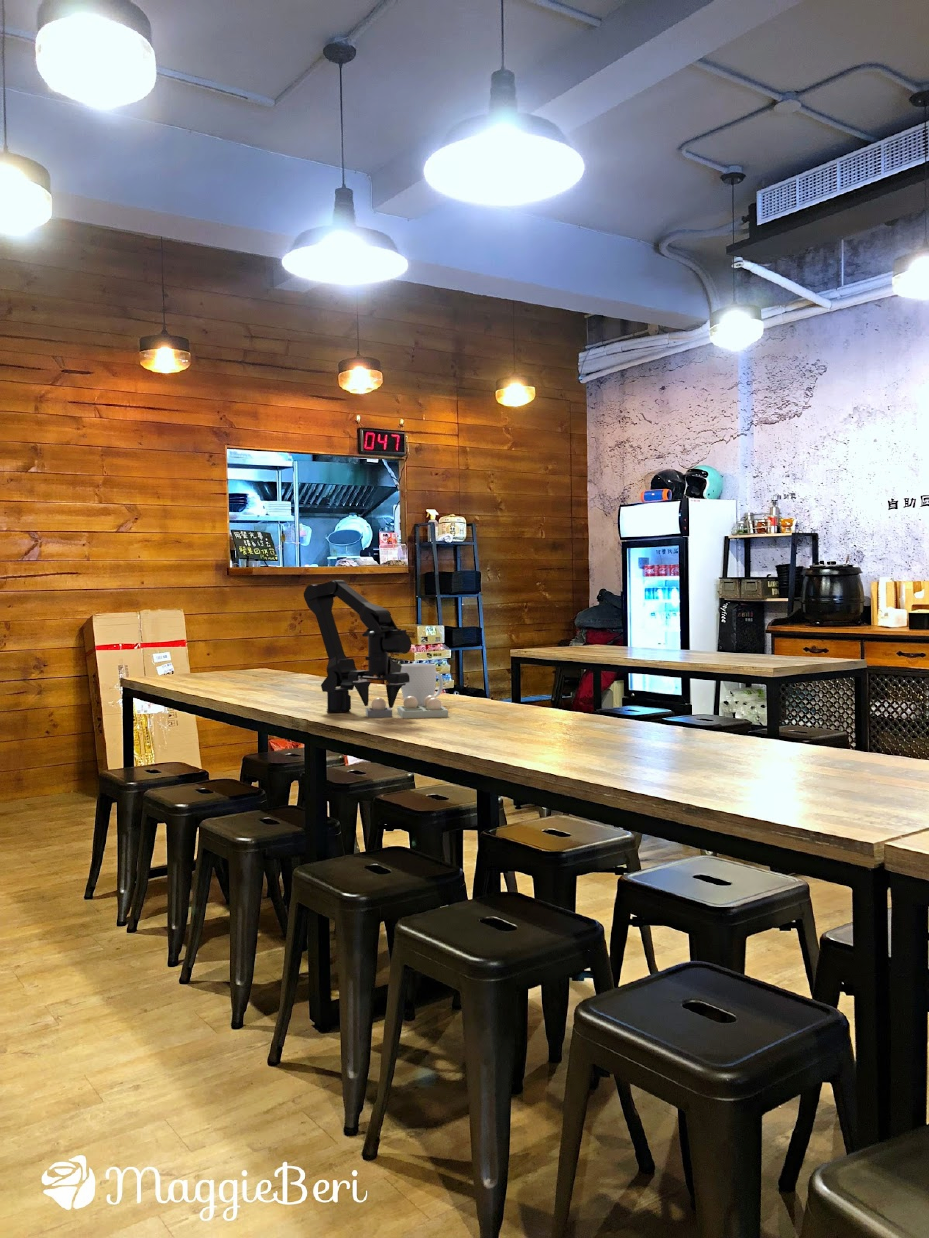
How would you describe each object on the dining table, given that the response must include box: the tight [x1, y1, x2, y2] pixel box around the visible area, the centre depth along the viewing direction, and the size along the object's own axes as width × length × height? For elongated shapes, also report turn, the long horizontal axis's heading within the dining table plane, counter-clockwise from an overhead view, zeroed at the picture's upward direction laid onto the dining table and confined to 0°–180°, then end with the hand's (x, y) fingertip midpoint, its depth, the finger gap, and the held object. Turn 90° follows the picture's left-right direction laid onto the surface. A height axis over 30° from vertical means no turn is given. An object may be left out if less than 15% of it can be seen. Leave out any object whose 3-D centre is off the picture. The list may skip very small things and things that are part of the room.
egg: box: [370, 697, 387, 710], centre depth 273 cm, size 4×4×4 cm
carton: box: [396, 695, 449, 719], centre depth 275 cm, size 13×13×5 cm
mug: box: [400, 662, 444, 706], centre depth 295 cm, size 15×11×13 cm
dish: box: [365, 706, 393, 718], centre depth 273 cm, size 7×7×2 cm
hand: (378, 706), depth 273 cm, fingers open, 9 cm apart
